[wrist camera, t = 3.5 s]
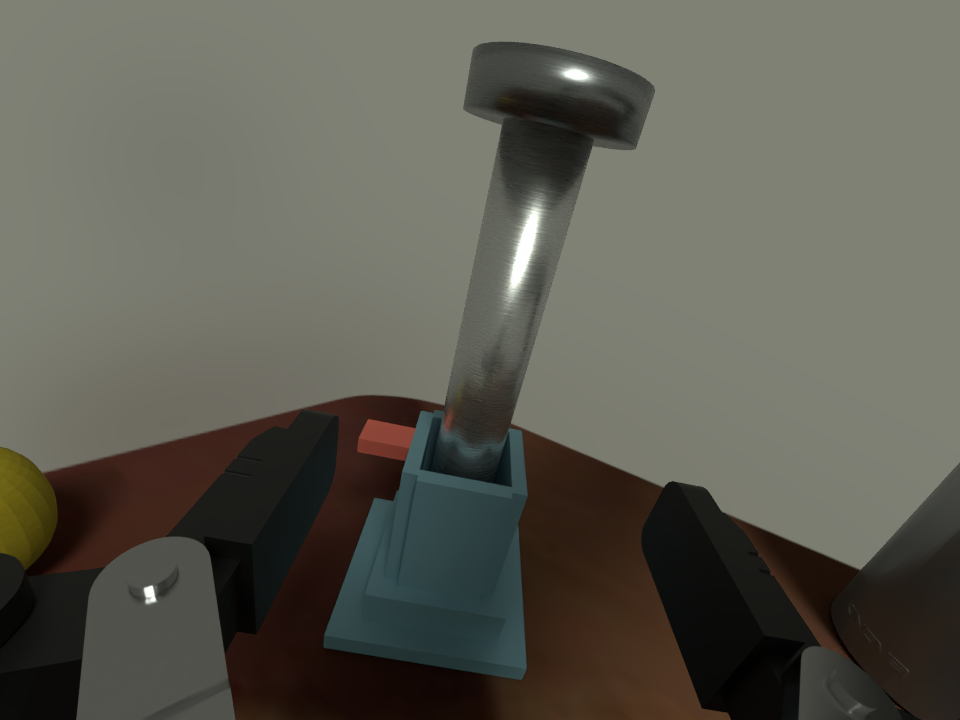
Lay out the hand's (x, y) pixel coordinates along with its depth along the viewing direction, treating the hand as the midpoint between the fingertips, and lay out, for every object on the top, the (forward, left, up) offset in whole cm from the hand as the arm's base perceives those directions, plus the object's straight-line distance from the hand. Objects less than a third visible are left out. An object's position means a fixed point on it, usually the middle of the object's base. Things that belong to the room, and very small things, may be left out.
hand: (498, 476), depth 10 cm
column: (0, -8, -15) cm, 17 cm away
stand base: (0, -9, -16) cm, 18 cm away
